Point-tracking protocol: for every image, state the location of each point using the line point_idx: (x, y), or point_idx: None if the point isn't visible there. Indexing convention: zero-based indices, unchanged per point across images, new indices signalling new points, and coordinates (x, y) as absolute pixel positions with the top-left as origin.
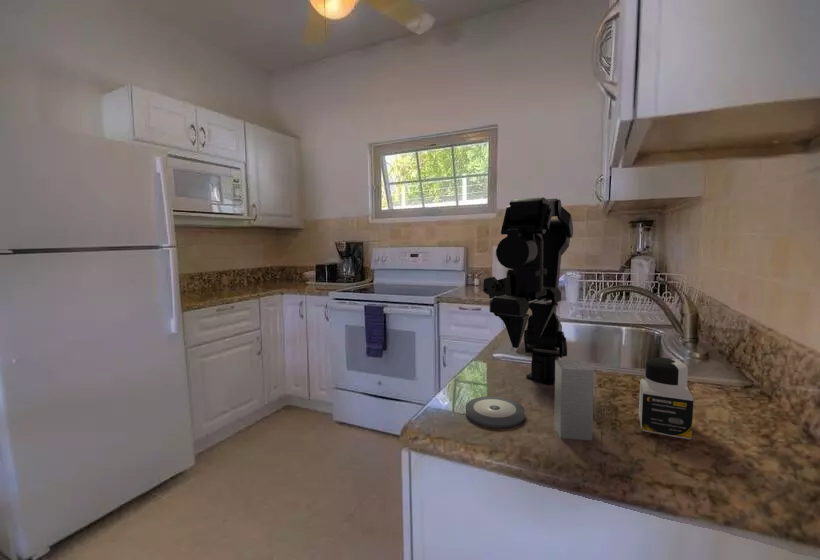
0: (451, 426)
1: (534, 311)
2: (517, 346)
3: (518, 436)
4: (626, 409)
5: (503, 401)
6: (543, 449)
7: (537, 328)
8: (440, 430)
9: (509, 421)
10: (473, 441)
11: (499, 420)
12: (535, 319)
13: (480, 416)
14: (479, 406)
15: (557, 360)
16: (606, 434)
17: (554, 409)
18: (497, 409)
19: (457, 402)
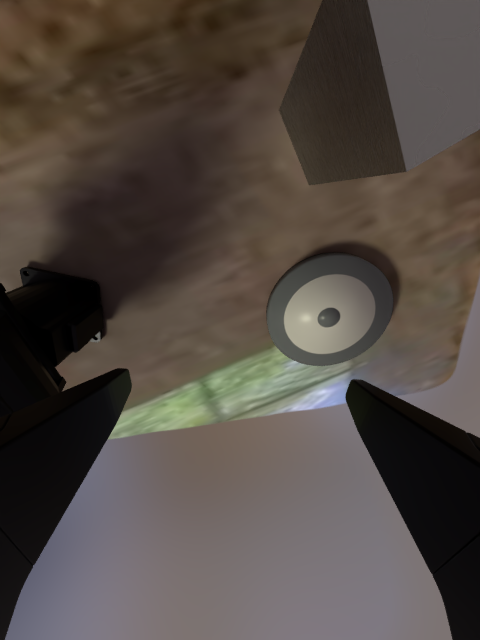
0: (409, 345)
1: (13, 572)
2: (367, 385)
3: (404, 230)
4: (75, 10)
5: (288, 317)
6: (446, 157)
7: (106, 416)
8: (431, 351)
9: (376, 267)
10: (454, 291)
11: (384, 284)
12: (67, 484)
13: (381, 321)
14: (338, 341)
15: (422, 152)
16: (296, 21)
17: (320, 183)
18: (334, 309)
19: (310, 380)
